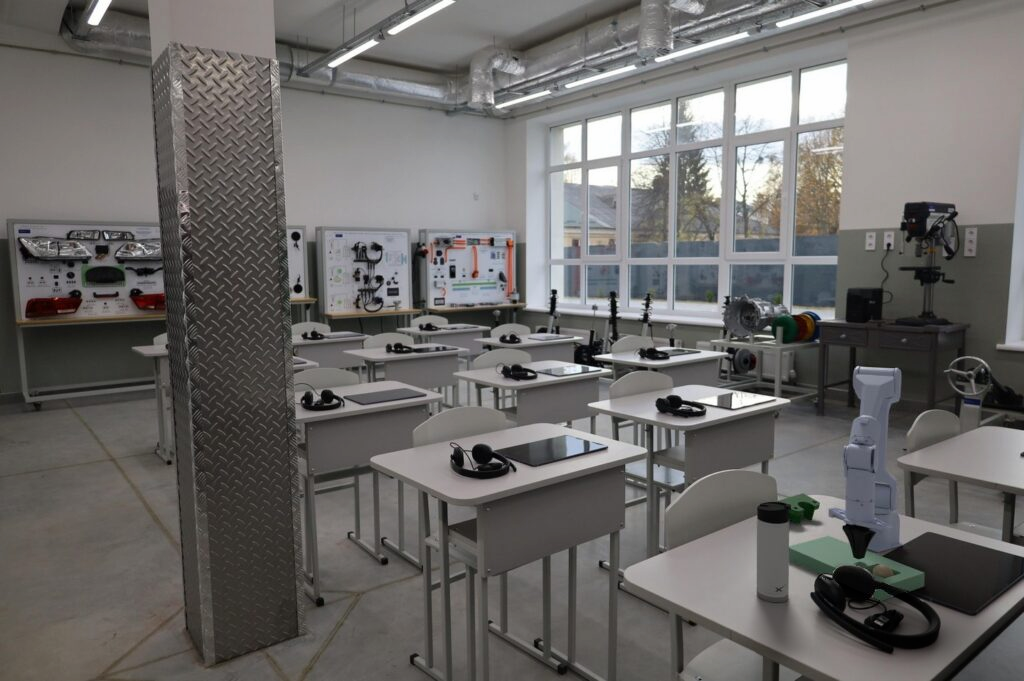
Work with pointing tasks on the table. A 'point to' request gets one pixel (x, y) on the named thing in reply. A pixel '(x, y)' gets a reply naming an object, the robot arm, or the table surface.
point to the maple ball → (882, 571)
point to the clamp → (801, 507)
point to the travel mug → (773, 551)
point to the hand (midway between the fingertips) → (858, 557)
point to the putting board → (853, 563)
